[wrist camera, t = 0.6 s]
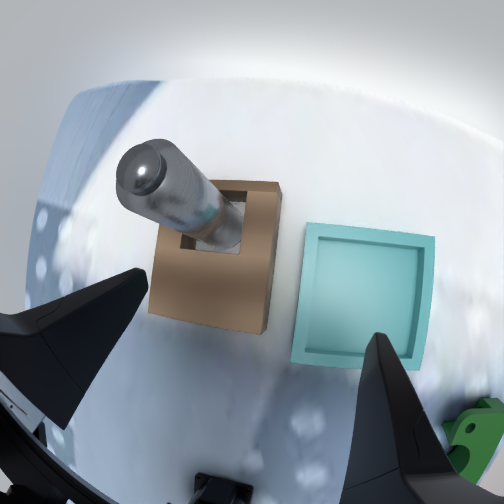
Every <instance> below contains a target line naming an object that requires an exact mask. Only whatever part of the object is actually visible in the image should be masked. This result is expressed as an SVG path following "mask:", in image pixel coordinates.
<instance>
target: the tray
mask: <svg viewBox="0 0 504 504" xmlns="http://www.w3.org/2000/svg"><path fill="white" fill-rule="evenodd" d="M434 259H435V237H434V236H427V235H419V234H411V233H403V232H395V231H387V230H378V229H369V228H360V227H351V226H341V225H331V224H320V223H309V222H307V225H306V236H305V247H304V257H303V266H302V276H301V284H300V293H299V301H298V309H297V316H296V324H295V331H294V338H293V345H292V351H291V358H290V363H298V364H306V365H315V366H325V367H337V368H350V369H362V367H363V361H364V355H365V350H366V347H367V345H368V343H369V341H370V340H371V338H372V336H373V334H374V333H375V332H381V333H385V334H386V335H387V336H388V338H389V340H390V342H391V344H392V346H393V347H394V349H395V351H396V353H397V355H398V357H399V359H400V361H401V363H402V365H403V367H404V369H405V370H420V367H421V362H422V358H423V353H424V348H425V342H426V336H427V330H428V324H429V317H430V309H431V300H432V290H433V278H434Z"/></svg>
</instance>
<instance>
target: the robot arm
mask: <svg viewBox="0 0 504 504" xmlns="http://www.w3.org/2000/svg"><path fill="white" fill-rule="evenodd" d="M147 291H148V281H147V276H146V272H145V271H144V270H143V269H140V268H133V269H131V270H128V271H126V272H123V273H121V274H118V275H115V276H113V277H110V278H108V279H105V280H103V281H100V282H98V283H95V284H93V285H91V286H88V287H86V288H83V289H81V290H78V291H76V292H73V293H71V294H69V295H66V296H65V297H61V298H59V299H57V300H54V301H52V302H49V303H47V304H44V305H41V306H38V307H35V308H32V309H29V310H26V311H23V312H20V313H18V314H12V315H8V314H2V313H0V468H1V470H2V471H3V472H4V473H5V475H6V476H7V477H8V478H9V479H10V481H11V482H12V483H13V485H11V486H10V487H9V489H8V491H7V492H6V493H3V492H1V491H0V504H66V502H67V501H68V499H70V500H71V501H73V502H74V503H75V504H119V503H117V502H116V501H114V500H113V499H111V498H109V497H108V496H106V495H105V494H103V493H102V492H100V491H99V490H98V489H96V488H95V487H93V486H92V485H91V484H89V483H88V482H87V481H85V480H84V479H83V478H81V477H80V476H79V475H77V474H76V473H75V472H74V471H72V470H71V469H70V468H69V467H68V466H66V465H65V464H64V463H63V462H62V461H60V460H59V459H58V458H57V457H56V456H55V455H54V454H53V453H52V452H50V451H49V450H48V449H47V441H46V433H45V424H44V423H43V422H42V421H43V419H44V418H45V417H46V416H47V417H48V418H49V419H50V420H51V421H53V422H54V423H55V424H56V425H57V426H59V427H60V428H61V429H62V430H65V428H66V427H67V425H68V423H69V421H70V419H71V418H72V416H73V414H74V412H75V410H76V409H77V407H78V405H79V403H80V402H81V400H82V398H83V397H84V395H85V393H86V391H87V390H88V388H89V386H90V385H91V383H92V381H93V380H94V378H95V376H96V375H97V373H98V371H99V370H100V368H101V367H102V365H103V363H104V362H105V360H106V359H107V357H108V355H109V354H110V352H111V351H112V349H113V348H114V346H115V344H116V343H117V341H118V340H119V338H120V337H121V335H122V334H123V332H124V331H125V329H126V328H127V326H128V325H129V323H130V322H131V320H132V318H133V317H134V315H135V313H136V311H137V309H138V307H139V305H140V304H141V302H142V300H143V298H144V296H145V294H146V293H147ZM423 409H424V408H423V406H422V404H421V402H420V400H419V398H418V395H417V393H416V391H415V389H414V387H413V385H412V383H411V381H410V379H409V377H408V375H407V373H406V371H405V369H404V367H403V365H402V363H401V361H400V359H399V357H398V355H397V353H396V351H395V349H394V347H393V346H392V344H391V342H390V340H389V338H388V336H387V335H386V334H385V333H381V332H375V333H374V334H373V336H372V338H371V340H370V341H369V343H368V345H367V347H366V350H365V355H364V361H363V367H362V372H361V377H360V382H359V387H358V395H357V405H356V414H355V422H354V430H353V437H352V443H351V450H350V455H349V461H348V466H347V472H346V476H345V481H344V486H343V491H342V494H341V498H340V502H339V504H504V497H501V496H497V495H495V494H492V493H491V492H489V491H487V490H485V489H483V488H481V487H479V486H478V485H476V484H474V483H472V482H470V481H469V480H467V479H465V478H463V477H462V476H461V475H459V474H458V473H457V471H456V470H455V469H454V467H453V466H452V464H451V462H450V460H449V458H448V456H447V454H446V453H445V451H444V449H443V447H442V445H441V443H440V442H439V440H438V438H437V436H436V434H435V432H434V430H433V428H432V426H431V424H430V421H429V419H428V417H427V415H426V413H425V411H424V410H423ZM200 477H201V478H200ZM248 489H250V490H248ZM252 493H253V487H252V486H249V485H244V484H240V483H235V482H231V481H227V480H223V479H219V478H215V477H212V476H208V475H205V474H201V473H197V474H196V475H195V488H194V496H193V497H192V499H191V500H190V502H189V503H188V504H250V502H251V498H252ZM167 504H171V503H167Z"/></svg>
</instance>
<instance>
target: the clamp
mask: <svg viewBox="0 0 504 504" xmlns="http://www.w3.org/2000/svg"><path fill="white" fill-rule="evenodd" d="M442 427H443V429H444V432H445V434H446V437H447V439H448V442H449V444H450V446H452V445H458V446H457V447H456V449H455V450H454V451H453V452H452V453H451V454H449V455H448V458H449V460H450V462H451V464H452V466H453V467H454V469H455V470H456V471H457V473H458V474H459V475H461V476H462V477H463V478H465V479H467V480H469V481H470V482H472V483H474V484H476V483H477V482H478V480H479V479H480V477H481V475H482V474H483V472H484V470H485V468H486V467H487V465H488V463H489V461H490V459H491V458H492V456H493V454H494V452H495V450H496V448H497V446H498V444H499V442H500V440H501V438H502V435H503V433H504V404H503V403H502V402H501V401H500V400H499V399H498V398H481V399H480V400H479V401H478V403H477V405H476V408H475V409H468V410H465V411H464V412H462V413H461V414H460V415H459V416H458V417H457V419H456V421H455V422H444V424H443V426H442Z"/></svg>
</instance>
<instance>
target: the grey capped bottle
mask: <svg viewBox="0 0 504 504" xmlns="http://www.w3.org/2000/svg"><path fill="white" fill-rule="evenodd" d="M116 179H117V180H116V193H117V197H118V199H119V201H120V203H121V204H122V205H123V206H124V207H125V208H126V209H128V210H130V211H132V212H134V213H136V214H139V215H141V216H143V217H145V218H148V219H150V220H152V221H155V222H157V223H159V224H161V225H164V226H166V227H168V228H171V229H173V230H175V231H177V232H180V233H182V234H184V235H187V236H189V237H191V238H194V239H196V240H198V241H200V242H203V243H205V244H207V245H210V246H212V247H214V248H217V249H229V248H232V247H233V246H235V245H236V244H238V243H239V241H240V240H241V237H242V230H243V222H244V218H243V216H242V215H241V214H240V212H239V211H238V210H237V209H236V208H235V207H234V206H233V205H232V204H231V203H230V202H229V201H228V200H227V199H226V198H225V197H224V196H223V195H222V193H221V192H220V191H219V190H218V189H217V188H216V187H215V186H214V185H213V184H212V183H211V182H210V181H209V180H208V179H207V178H206V177H205V176H204V175H203V174H202V173H201V172H200V171H199V169H198V168H197V167H196V166H195V165H194V164H193V163H192V162H191V161H190V160H189V159H188V158H187V157H186V156H185V155H184V154H183V153H182V152H181V151H180V150H179V149H178V148H177V147H176V146H175V145H174V144H173V143H172V142H170V141H168V140H165V139H153V140H149V141H146V142H144V143H142V144H139V145H136V146H134V147H132V148H131V149H129V150H128V151H127V152H126V153H125V154H124V155H123V157H122V158H121V160H120V162H119V164H118V167H117V171H116Z"/></svg>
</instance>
